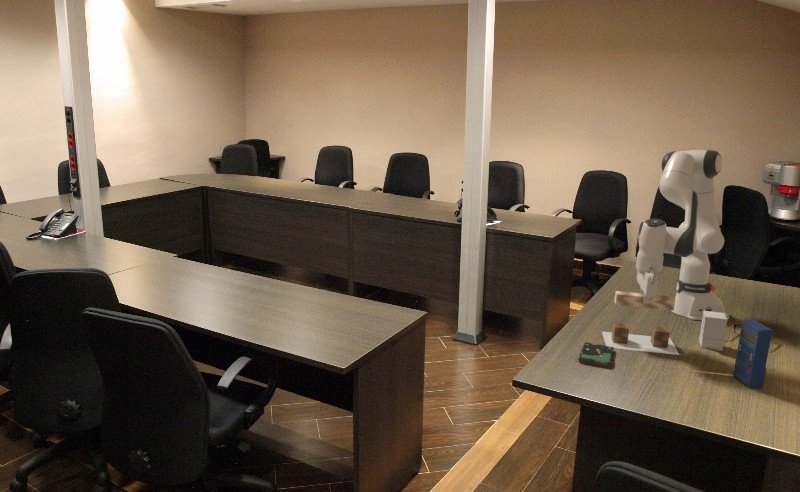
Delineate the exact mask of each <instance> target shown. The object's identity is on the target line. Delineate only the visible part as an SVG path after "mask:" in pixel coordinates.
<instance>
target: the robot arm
mask: <svg viewBox="0 0 800 492" xmlns="http://www.w3.org/2000/svg"><path fill="white" fill-rule="evenodd" d="M722 166H723V161H722V156H721V154H720V153H719V152H718V151H717V150H712V149H708V150H705V149H690V150H681V151H669V152H667V153H665V155H663V157H662V160H661V170H662V174H661V177H660V181H659V192H660V194H661V195H662V197H663V198H665V200H667V201H668V202H670V203H673V204H674V205H676V206H679V207H680V208H682V209H683V210H684V211H685V213H684V221H683V222H682V223H680V224H679V226H678V227H673V226H667V223H666V221H664V220H663V219H660V218H648V219H646V220H644V222H643V223H642V226H641V231H640V233H639V239H638V247H639V248H638V252H637V256H636V259H635V263H636V264H635V269H636V282H637V283H638V285H639V286H640V293H642V294H644V298H643V303H644V304H648V303H649V299H650V297H655V296H656V295H658V294H657V293H658V285H659V276H658V273H660V272H662V271H663V265H664V263H663V262H664V254H668V255H669V254H670V255H675V256H678V257H680V258H681V260H680V261H681V262H680V263H681V264H680V269H679V270H680V271H679V277H678V279H677V282H676V288H675V289H676V294H675V297H674V299H675V305H674V311H673V310H670V311H671V312H672V313H674V314H675V315H678V316H681V317H685V318H688V319H689V320H694V321H702V317H703V311H711V312H719V313H724V314H725V316H726V318H727V322H728V321H729V319H730V316H729V314H728V313H727V312H726V311H725V309H724V303H723V301H722V300H721V299H720V298H719V297H718V296H717V295H716V294H715V293H714V292H715V291H716V288H717V287H715V285H713V284H712V283H710V282H709V276H710V271H711V270H710V269H711V262H710V260H709V255H712V254H717V253H718V252H720V251H721V250H722V248H723V247H724V244H725V238H724V235H723V234H722V232H721V229H720V224H719V222H718V218H717V213H716V205H715V204H716V203H715V201H716V200H715V180H714V178H715V177H717V176H718V174H719V173H721V170H722ZM708 254H709V255H708Z"/></svg>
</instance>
